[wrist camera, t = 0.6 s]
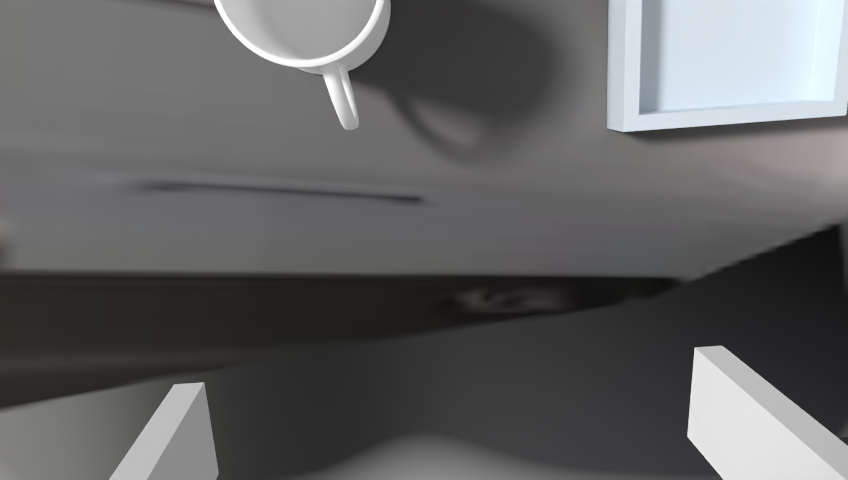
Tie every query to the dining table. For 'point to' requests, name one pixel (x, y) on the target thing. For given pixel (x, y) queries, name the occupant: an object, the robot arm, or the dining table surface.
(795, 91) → the tray
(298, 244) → the dining table surface
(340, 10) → the mug
